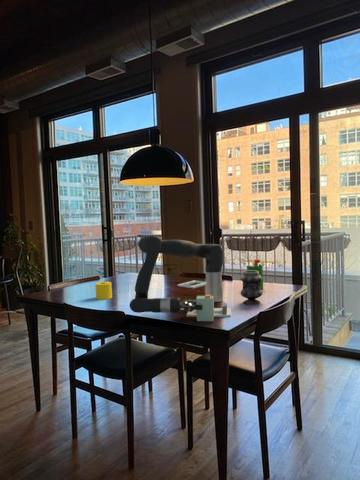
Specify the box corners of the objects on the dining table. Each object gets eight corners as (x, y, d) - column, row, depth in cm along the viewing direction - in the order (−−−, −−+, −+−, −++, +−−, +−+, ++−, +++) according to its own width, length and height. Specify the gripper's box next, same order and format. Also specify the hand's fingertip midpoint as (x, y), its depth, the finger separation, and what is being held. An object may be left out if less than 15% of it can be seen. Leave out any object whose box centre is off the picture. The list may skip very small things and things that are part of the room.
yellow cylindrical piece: (111, 295, 245) (110, 281, 245) (113, 298, 236) (112, 283, 235) (95, 297, 242) (94, 282, 242) (96, 300, 233) (96, 285, 232)
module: (196, 321, 180) (196, 296, 180) (198, 317, 186) (197, 293, 185) (213, 321, 179) (212, 296, 178) (214, 317, 185) (213, 293, 184)
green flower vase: (256, 286, 253) (255, 257, 252) (266, 288, 246) (265, 258, 244) (245, 289, 248) (244, 259, 246) (255, 291, 240) (254, 260, 239)
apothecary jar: (266, 302, 211) (266, 270, 209) (254, 306, 203) (253, 273, 201) (249, 299, 220) (248, 268, 218) (236, 303, 211) (235, 271, 210)
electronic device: (193, 286, 256) (177, 283, 266) (193, 289, 256) (177, 287, 266) (210, 281, 269) (194, 279, 280) (210, 284, 270) (194, 282, 280)
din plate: (186, 316, 189) (186, 306, 188) (189, 310, 201) (189, 300, 201) (230, 316, 185) (230, 306, 185) (231, 310, 198) (230, 300, 197)
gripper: (167, 301, 178) (201, 301, 175) (172, 294, 192) (204, 294, 189) (168, 316, 178) (202, 316, 176) (173, 309, 192) (204, 308, 190)
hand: (203, 305), depth 182 cm, fingers open, 8 cm apart
